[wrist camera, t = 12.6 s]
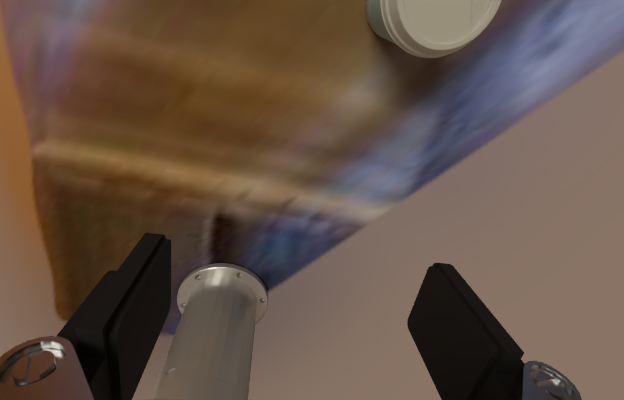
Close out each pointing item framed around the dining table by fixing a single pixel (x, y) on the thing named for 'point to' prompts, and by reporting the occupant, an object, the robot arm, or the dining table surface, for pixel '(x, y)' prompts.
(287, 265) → the dining table surface
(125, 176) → the dining table surface
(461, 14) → the coffee cup
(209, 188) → the dining table surface
